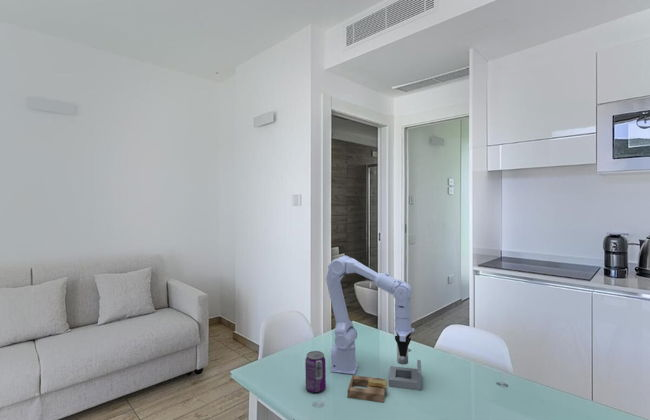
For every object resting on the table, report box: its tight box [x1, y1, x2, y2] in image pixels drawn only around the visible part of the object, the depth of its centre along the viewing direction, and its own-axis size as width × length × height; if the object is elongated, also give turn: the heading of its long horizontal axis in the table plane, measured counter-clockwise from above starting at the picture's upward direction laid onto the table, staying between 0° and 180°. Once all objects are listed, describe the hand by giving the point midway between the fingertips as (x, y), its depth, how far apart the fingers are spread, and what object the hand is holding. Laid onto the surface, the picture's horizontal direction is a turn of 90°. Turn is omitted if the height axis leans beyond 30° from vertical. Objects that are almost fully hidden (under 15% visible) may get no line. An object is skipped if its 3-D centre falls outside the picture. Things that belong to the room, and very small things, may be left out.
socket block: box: [347, 374, 387, 403], centre depth 115 cm, size 12×10×2 cm
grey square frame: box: [388, 359, 423, 391], centre depth 121 cm, size 11×10×6 cm
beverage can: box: [304, 350, 327, 393], centre depth 117 cm, size 7×7×12 cm
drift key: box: [368, 379, 388, 389], centre depth 114 cm, size 6×3×1 cm, turn 76°
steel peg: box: [396, 344, 409, 365], centre depth 121 cm, size 4×4×8 cm
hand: (403, 353), depth 121 cm, fingers closed on steel peg, 4 cm apart
